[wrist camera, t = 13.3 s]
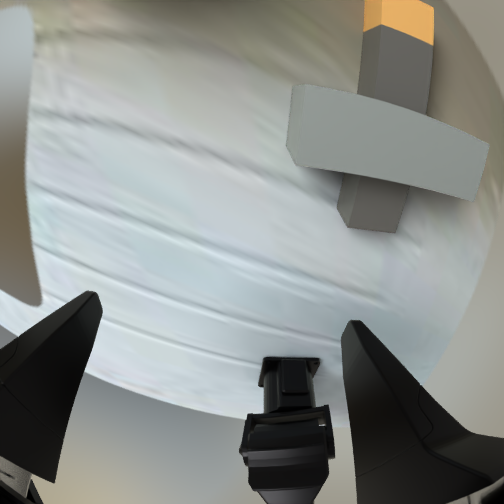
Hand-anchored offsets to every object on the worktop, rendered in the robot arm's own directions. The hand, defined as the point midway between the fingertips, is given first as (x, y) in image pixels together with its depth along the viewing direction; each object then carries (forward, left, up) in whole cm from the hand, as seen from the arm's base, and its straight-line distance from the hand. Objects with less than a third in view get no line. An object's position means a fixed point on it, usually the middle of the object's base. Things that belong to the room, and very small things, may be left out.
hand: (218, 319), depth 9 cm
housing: (+6, -9, -12) cm, 16 cm away
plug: (+7, -9, -12) cm, 16 cm away
